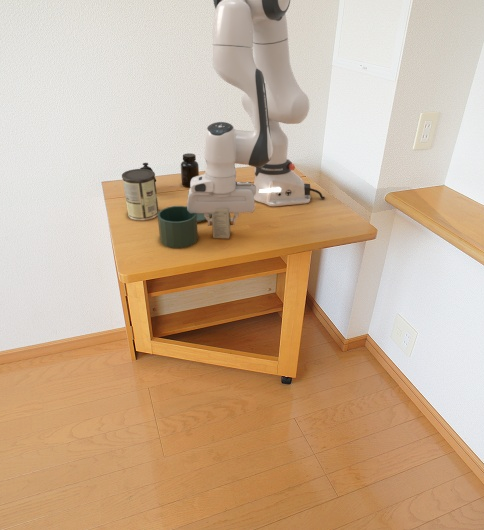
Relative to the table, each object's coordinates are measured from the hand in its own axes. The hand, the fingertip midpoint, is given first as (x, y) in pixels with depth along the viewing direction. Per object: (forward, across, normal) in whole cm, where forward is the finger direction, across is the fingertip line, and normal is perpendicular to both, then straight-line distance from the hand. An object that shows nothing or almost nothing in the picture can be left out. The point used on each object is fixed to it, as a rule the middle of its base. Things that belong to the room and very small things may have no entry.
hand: (221, 224), depth 126 cm
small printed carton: (+4, 0, 0) cm, 4 cm away
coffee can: (+4, +26, -16) cm, 31 cm away
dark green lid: (+3, +9, -14) cm, 17 cm away
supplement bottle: (+4, +11, -42) cm, 44 cm away
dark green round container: (+4, +13, +2) cm, 14 cm away
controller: (+4, +26, -35) cm, 44 cm away
